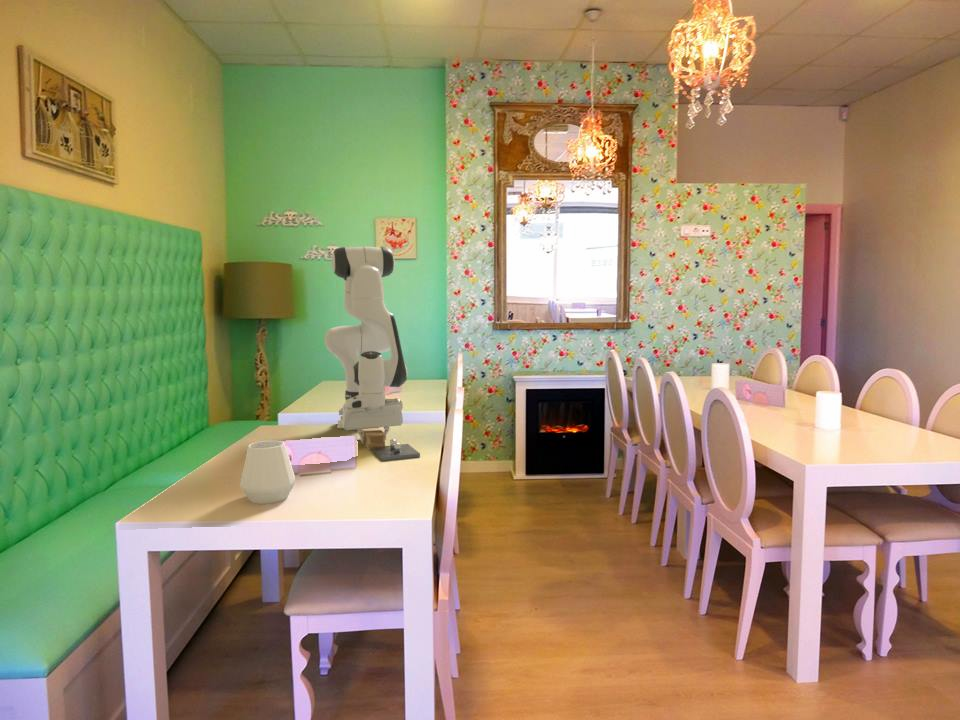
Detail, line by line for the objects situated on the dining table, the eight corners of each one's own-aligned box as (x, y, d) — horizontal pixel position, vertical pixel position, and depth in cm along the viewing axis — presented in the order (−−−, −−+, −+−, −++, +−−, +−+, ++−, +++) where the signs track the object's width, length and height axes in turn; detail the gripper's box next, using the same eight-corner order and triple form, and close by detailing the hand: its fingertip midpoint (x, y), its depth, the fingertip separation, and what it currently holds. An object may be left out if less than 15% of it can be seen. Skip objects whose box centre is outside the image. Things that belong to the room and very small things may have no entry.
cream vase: (231, 498, 165) (228, 444, 164) (278, 486, 175) (276, 435, 173) (257, 510, 156) (254, 453, 155) (306, 496, 166) (304, 443, 164)
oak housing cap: (362, 443, 223) (361, 428, 223) (378, 441, 226) (377, 427, 225) (368, 449, 214) (368, 434, 214) (385, 448, 216) (384, 433, 216)
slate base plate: (372, 450, 213) (371, 438, 212) (407, 447, 217) (407, 435, 217) (382, 461, 200) (382, 448, 199) (420, 457, 204) (419, 444, 204)
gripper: (399, 396, 225) (400, 435, 226) (340, 401, 217) (341, 441, 219) (404, 399, 219) (405, 439, 221) (343, 404, 212) (345, 445, 213)
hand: (373, 440), depth 220 cm, fingers closed on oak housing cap, 5 cm apart
